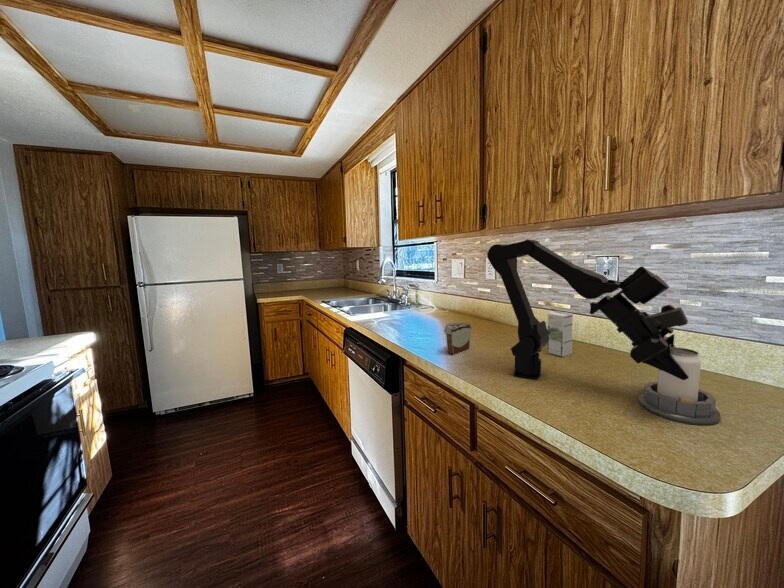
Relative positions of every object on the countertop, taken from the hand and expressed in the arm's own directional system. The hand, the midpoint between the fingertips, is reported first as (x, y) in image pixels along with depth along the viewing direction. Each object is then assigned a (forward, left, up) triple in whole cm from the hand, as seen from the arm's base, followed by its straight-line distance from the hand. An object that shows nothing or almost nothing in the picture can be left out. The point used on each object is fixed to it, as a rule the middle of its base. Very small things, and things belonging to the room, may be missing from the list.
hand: (686, 374), depth 66 cm
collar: (-1, 0, -8) cm, 8 cm away
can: (-1, 0, -7) cm, 7 cm away
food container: (-58, +23, -8) cm, 63 cm away
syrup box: (-24, +33, -8) cm, 42 cm away
